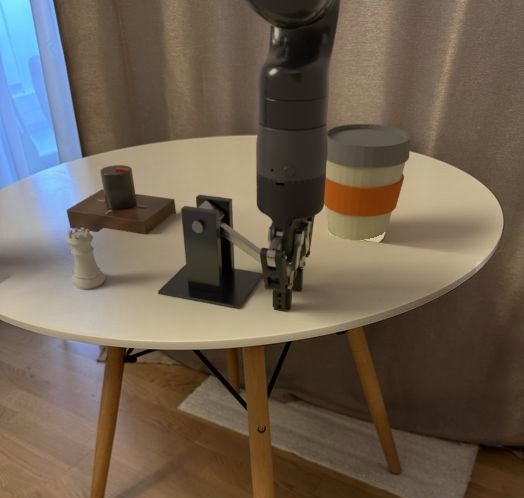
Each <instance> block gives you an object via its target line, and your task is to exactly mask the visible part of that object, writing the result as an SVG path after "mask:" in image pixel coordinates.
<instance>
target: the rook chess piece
mask: <svg viewBox="0 0 524 498" xmlns="http://www.w3.org/2000/svg"><path fill="white" fill-rule="evenodd" d="M67 232H68V233H67V238H66V240H65V242H66V243H67V244H69V246H71V249H70V253H71V254H72V257H73V263H74V270H73V272H72V276H71V284H72V285H73V286H74V287H76V288H77V289H80V290H91V289H92V290H93V289H95V288H98V287H100V286H101V285H102V284H103V283H104V282H105V280H106V275H105V272H103V271H102V270H101V268H100V267H99V266H98V264H97V261H96V259H95V255H94V248H95V247H93V245H92V243H93V240H94V236H93V235H92V234H91V233H90V231H89V230H88V229H85V228H82V227H81V229H80V230H79V229H77V228H73V230H72V229H70V230H67Z"/></svg>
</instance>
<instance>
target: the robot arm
mask: <svg viewBox="0 0 524 498" xmlns="http://www.w3.org/2000/svg"><path fill="white" fill-rule="evenodd" d="M243 2H244V4H246V5H247V6H248V7H249V8H250V10H252V12H254V13H255V15H256V16H258V17H259V18H260V19H262V21H264V22H265V23H266V24H268V25H270V29H269V30H270V31H269V43H268V44H269V45H268V52H267V55H266V57H265V59H264V60H263V62H262V63H261V65H260V68H259V72H258V79H257V81H258V82H257V85H258V86H257V101H258V103H257V104H258V105H257V107H258V108H257V109H258V111H257V112H258V114H257V115H258V117H257V118H258V119H257V120H258V123H257V134H256V136H257V137H256V141H255V143H256V144H255V154H256V155H255V164H256V165H255V169H256V171H255V172H256V173H255V175H256V176H255V177H256V181H255V182H256V207H257V209H258V211H260V213H262V214H263V215H265V216H267V217H268V218H269V219H270V220H271V224H270V226H269V227H268V230H267V231H268V232H267V241H268V244H269V245H268V247H261V248H260V249H261V251H260V259H261V263H260V264H261V273H263V278H262V279H263V284H264V289H265V290H272V308H273V310H274V311H278V312H283V313H286V312H287V311H291V309H292V307H293V292H298V293H302V291H303V284H304V283H303V281H304V269H305V268H306V266H307V258H309V257H310V255H311V245H312V239H313V233H314V232H313V231H314V224H315V217H316V216H317V215H318V214H320V213H321V212H322V211H323V209H324V206H325V205H324V197H325V181H326V165H327V148H328V142H327V127H328V125H327V123H328V122H327V121H328V111H329V109H328V108H329V93H330V92H329V91H330V90H329V89H330V87H329V86H330V81H329V79H330V68H331V67H330V66H331V61H332V56H333V50H334V46H335V40H336V36H337V35H336V34H337V28H338V22H339V16H340V9H341V2H342V1H341V0H243ZM286 258H288V259H291V260H292V262H289V261H286ZM295 269H297V275H296V278H295V280H294V281H293V275H294V270H295Z"/></svg>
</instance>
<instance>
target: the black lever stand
mask: <svg viewBox="0 0 524 498" xmlns="http://www.w3.org/2000/svg"><path fill="white" fill-rule="evenodd" d="M205 201H208V202H209V203H210V204H212V205H213V206H215V207H216V208H217V209H219V210H220V211H221V212H223V213H224V214H225V215H224V217H223V219H222V221H223V222H224V223H225V224H227V225H228V226H229V227H231V228H232V229H234V216H233V212H234V211H233V199H232V198H229V197H221V196H213V195H206V194H198V195H197V196H195V203H196V207H195V206H188V205H184V206H182V207H180V213H181V214H180V215H181V224H182V235H183V246H184V247H183V248H184V255H185V264H184V265H183V266H182V267H181V268H180V269H179V270H178V271H177V272H175V274H174V275H173V276H172V277H171V278H170V279H169V280H168V281H167V282H165V284H164V285H162V286H161V287H160V289H158V291H157V294H158V295H161V296H166V297H171V298H177V299H182V300H188V301H193V302H198V303H203V304H209V305H214V306H219V307H224V308H229V309H233V310H234V309H235V310H239V309H241V307H242V306H243V304H244V303H245V302H246V300H247V299H248V298H249V296H250V295H251V294H252V292H253V291H254V290H255V288H256V287H257V286H258V284H260V282H261V280H262V279H264V278H263V272H258V271H252V270H245V269H239V268H236V267H235V266H236V265H235V244H233V243H232V242H230V241H229V240H228V239H226V238H225V237H224V236H222V235H221V234H220V222H219V211H218V210H211V209H204V208H198V207H199V206H200V205H201V204H203V203H204V202H205Z"/></svg>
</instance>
